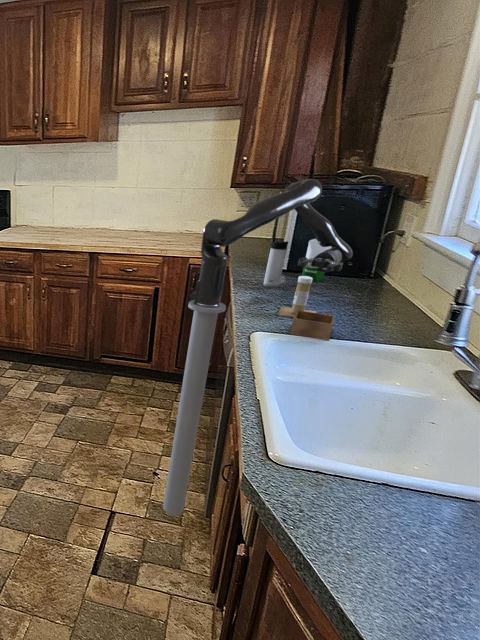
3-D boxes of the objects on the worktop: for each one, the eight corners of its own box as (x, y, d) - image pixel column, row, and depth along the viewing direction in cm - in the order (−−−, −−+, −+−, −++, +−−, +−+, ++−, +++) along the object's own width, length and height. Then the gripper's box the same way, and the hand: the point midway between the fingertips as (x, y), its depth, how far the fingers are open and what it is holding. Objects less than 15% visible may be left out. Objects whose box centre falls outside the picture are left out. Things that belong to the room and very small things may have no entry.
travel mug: (272, 288, 230) (282, 242, 222) (259, 285, 235) (269, 239, 228) (282, 287, 232) (292, 241, 224) (269, 283, 238) (279, 238, 230)
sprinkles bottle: (291, 310, 198) (299, 274, 193) (305, 312, 196) (313, 276, 191) (289, 313, 195) (297, 277, 190) (303, 315, 193) (312, 279, 187)
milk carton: (325, 279, 246) (336, 236, 238) (318, 282, 240) (329, 238, 233) (305, 276, 252) (315, 233, 244) (298, 279, 246) (308, 235, 238)
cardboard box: (289, 334, 175) (293, 318, 173) (293, 325, 183) (297, 310, 181) (328, 340, 169) (333, 324, 167) (330, 331, 178) (334, 315, 176)
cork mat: (277, 315, 194) (277, 314, 194) (281, 307, 203) (281, 306, 203) (314, 321, 188) (314, 319, 188) (316, 312, 197) (317, 311, 197)
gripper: (309, 248, 211) (296, 254, 200) (349, 253, 202) (339, 259, 191) (304, 267, 213) (292, 273, 202) (344, 273, 205) (334, 280, 194)
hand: (315, 266), depth 197 cm, fingers open, 8 cm apart
